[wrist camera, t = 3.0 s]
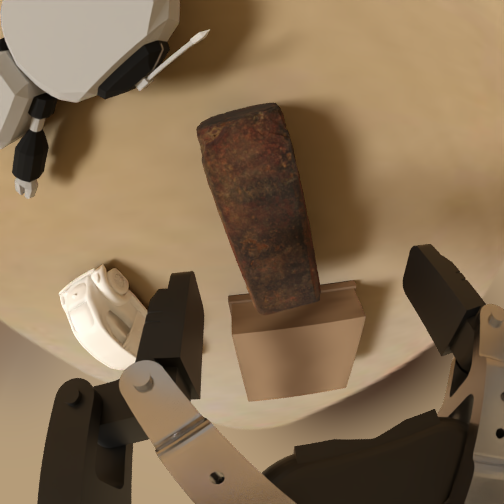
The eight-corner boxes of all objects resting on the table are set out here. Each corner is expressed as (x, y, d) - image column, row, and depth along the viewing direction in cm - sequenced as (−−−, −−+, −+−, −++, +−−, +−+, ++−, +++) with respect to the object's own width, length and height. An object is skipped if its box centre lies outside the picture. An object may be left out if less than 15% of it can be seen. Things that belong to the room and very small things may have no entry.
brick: (308, 255, 20) (325, 303, 16) (252, 270, 20) (257, 320, 17) (272, 98, 14) (287, 107, 10) (200, 118, 15) (187, 135, 11)
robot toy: (54, 189, 17) (230, 34, 12) (18, 224, 13) (220, 24, 8) (-26, 80, 11) (113, -85, 6) (-69, 97, 7) (78, -109, 2)
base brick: (353, 280, 21) (369, 313, 19) (339, 359, 27) (347, 388, 24) (228, 296, 22) (228, 332, 19) (245, 371, 27) (246, 402, 25)
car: (60, 283, 21) (38, 324, 17) (106, 250, 19) (82, 295, 15) (151, 363, 27) (144, 403, 23) (201, 346, 25) (198, 391, 22)
